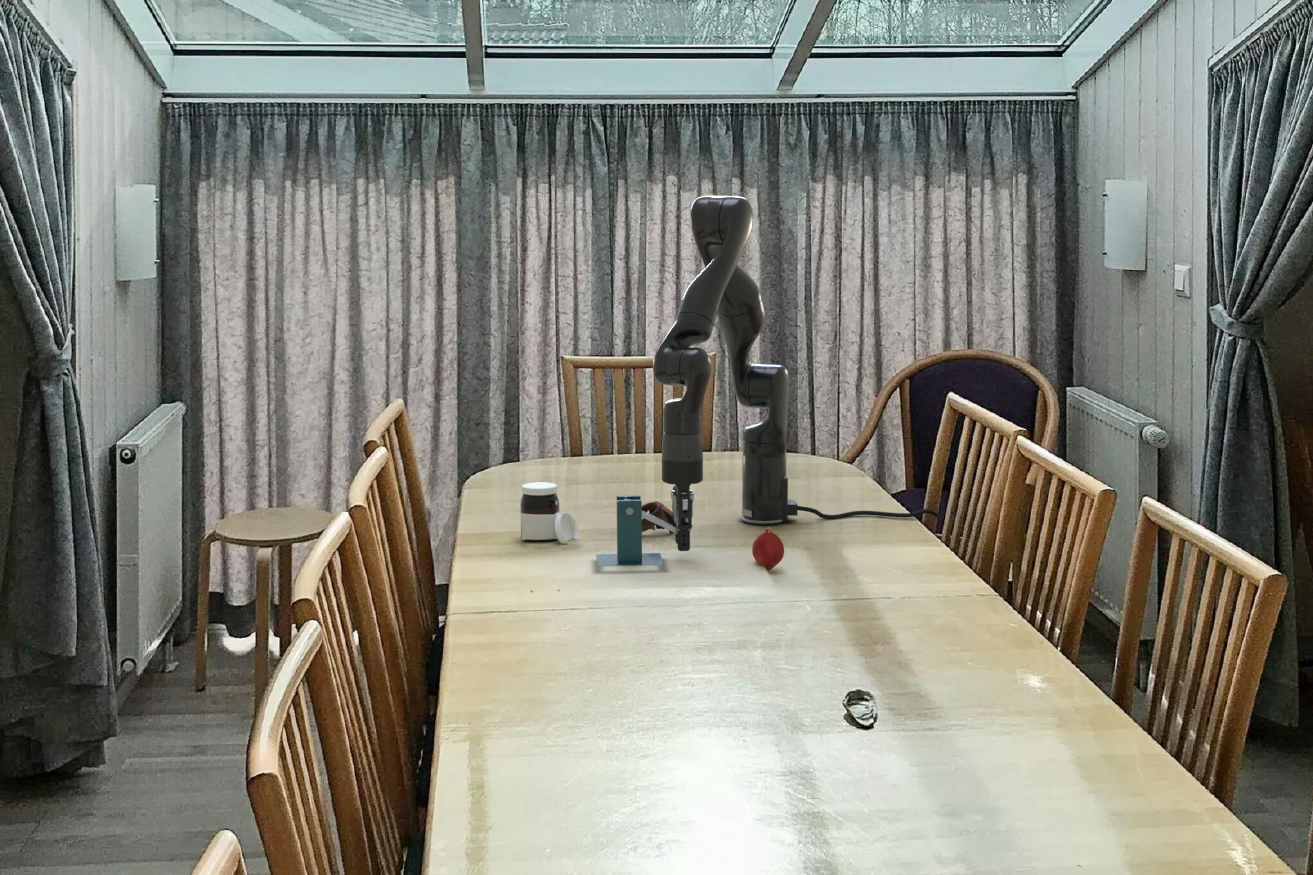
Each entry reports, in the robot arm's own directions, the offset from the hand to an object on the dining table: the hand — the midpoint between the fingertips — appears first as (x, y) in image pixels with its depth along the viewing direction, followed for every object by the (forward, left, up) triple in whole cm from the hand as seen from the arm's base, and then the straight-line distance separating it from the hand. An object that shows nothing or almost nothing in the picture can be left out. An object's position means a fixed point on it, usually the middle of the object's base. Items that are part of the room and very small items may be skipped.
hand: (682, 546), depth 255 cm
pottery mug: (+3, -24, -4) cm, 24 cm away
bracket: (+10, 0, -4) cm, 10 cm away
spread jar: (+25, -19, -4) cm, 31 cm away
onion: (-15, +5, -4) cm, 16 cm away
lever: (+6, 0, +4) cm, 7 cm away
